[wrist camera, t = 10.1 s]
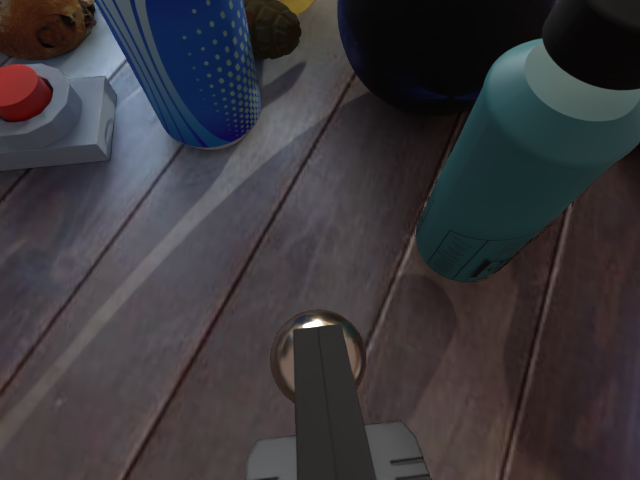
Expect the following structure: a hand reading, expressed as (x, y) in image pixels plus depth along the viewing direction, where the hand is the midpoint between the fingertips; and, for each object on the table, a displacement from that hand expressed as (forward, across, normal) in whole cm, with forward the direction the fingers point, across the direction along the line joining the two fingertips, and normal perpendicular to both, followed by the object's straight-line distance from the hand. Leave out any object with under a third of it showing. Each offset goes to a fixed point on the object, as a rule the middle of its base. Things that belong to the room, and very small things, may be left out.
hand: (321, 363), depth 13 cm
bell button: (+24, -20, +9) cm, 32 cm away
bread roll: (+36, -22, +15) cm, 45 cm away
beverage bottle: (+17, +11, -4) cm, 20 cm away
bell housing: (+27, -20, +6) cm, 34 cm away
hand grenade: (+27, +1, +12) cm, 29 cm away
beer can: (+27, -6, +6) cm, 28 cm away
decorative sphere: (+27, +12, +7) cm, 31 cm away
